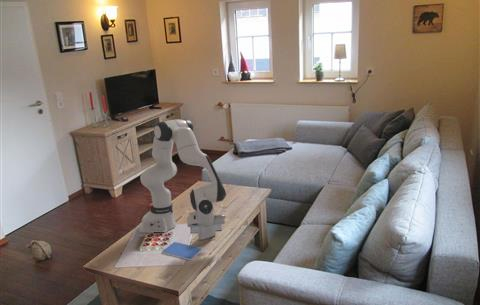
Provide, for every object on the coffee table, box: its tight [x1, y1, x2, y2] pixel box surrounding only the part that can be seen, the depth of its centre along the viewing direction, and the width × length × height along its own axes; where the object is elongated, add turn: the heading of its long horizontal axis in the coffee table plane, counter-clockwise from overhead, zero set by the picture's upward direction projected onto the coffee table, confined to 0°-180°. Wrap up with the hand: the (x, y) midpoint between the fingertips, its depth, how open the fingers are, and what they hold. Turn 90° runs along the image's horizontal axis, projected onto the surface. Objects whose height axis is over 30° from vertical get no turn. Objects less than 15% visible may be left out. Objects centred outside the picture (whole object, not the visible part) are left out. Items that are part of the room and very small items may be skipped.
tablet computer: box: [161, 241, 204, 261], centre depth 213 cm, size 19×13×1 cm, turn 63°
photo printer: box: [197, 225, 216, 241], centre depth 225 cm, size 10×4×12 cm, turn 123°
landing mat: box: [190, 224, 223, 234], centre depth 239 cm, size 18×14×1 cm
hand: (206, 225), depth 219 cm, fingers closed
